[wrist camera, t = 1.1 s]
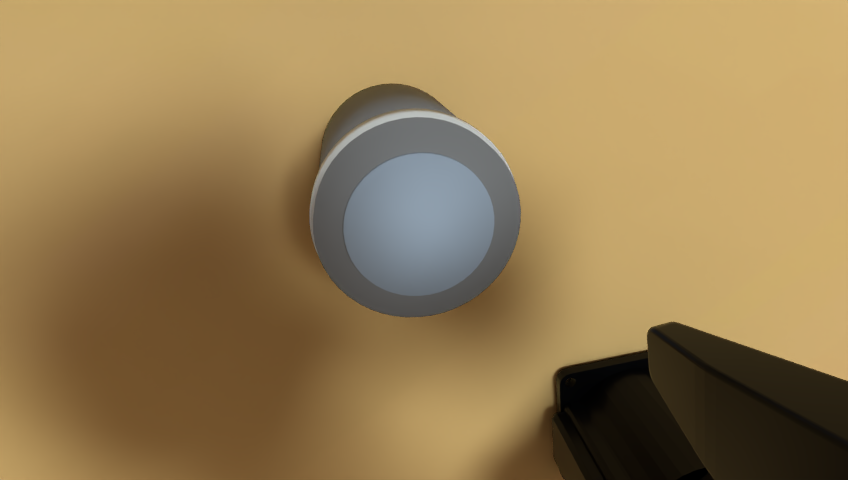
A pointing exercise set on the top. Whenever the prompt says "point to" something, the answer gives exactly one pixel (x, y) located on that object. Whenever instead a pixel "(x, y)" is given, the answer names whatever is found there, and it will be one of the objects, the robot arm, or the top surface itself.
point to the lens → (411, 204)
